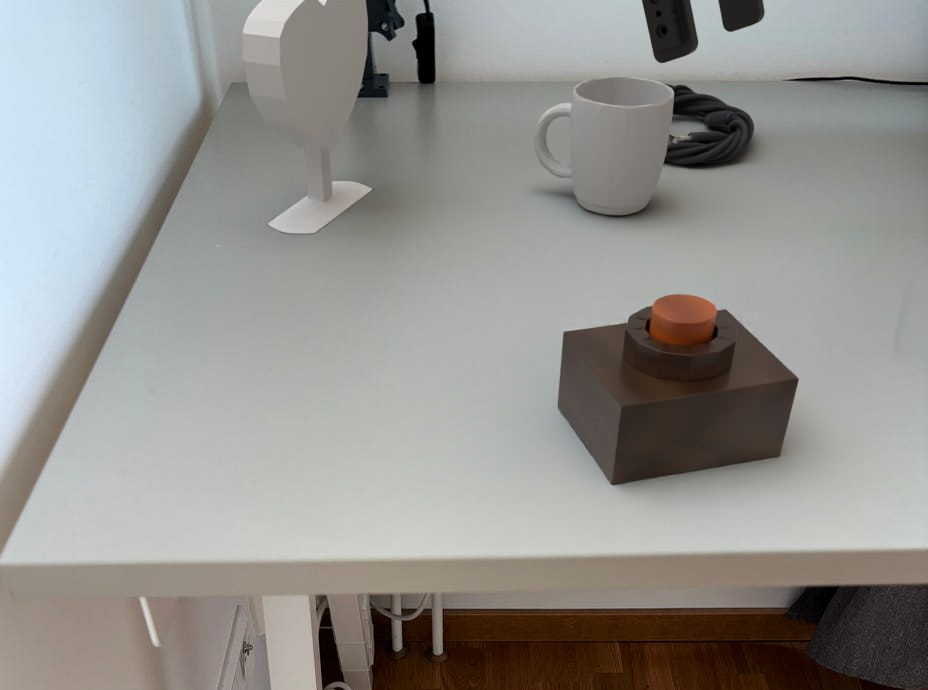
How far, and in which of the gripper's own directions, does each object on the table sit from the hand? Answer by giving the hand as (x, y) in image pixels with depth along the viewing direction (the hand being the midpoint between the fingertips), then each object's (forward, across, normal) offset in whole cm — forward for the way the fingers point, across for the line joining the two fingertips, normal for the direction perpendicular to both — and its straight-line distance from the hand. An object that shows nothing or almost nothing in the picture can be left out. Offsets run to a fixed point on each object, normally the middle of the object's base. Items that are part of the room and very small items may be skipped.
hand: (713, 41), depth 58 cm
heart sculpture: (+4, +17, +50) cm, 53 cm away
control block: (+22, 0, +9) cm, 24 cm away
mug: (+12, +33, +31) cm, 47 cm away
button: (+16, 0, +6) cm, 17 cm away
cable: (+11, +54, +31) cm, 63 cm away
